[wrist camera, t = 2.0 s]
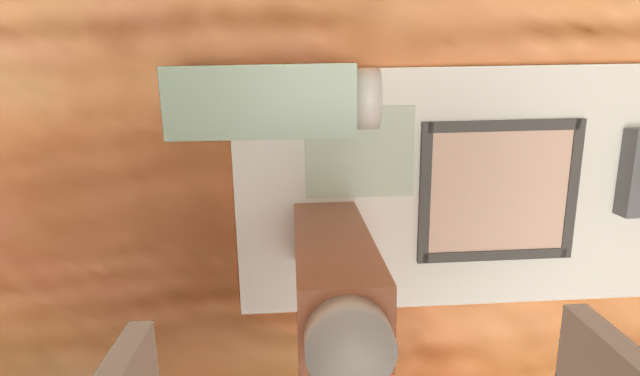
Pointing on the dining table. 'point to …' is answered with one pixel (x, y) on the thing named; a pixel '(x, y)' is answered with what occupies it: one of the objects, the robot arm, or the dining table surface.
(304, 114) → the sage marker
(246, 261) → the white flat panel
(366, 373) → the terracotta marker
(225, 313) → the dining table surface
